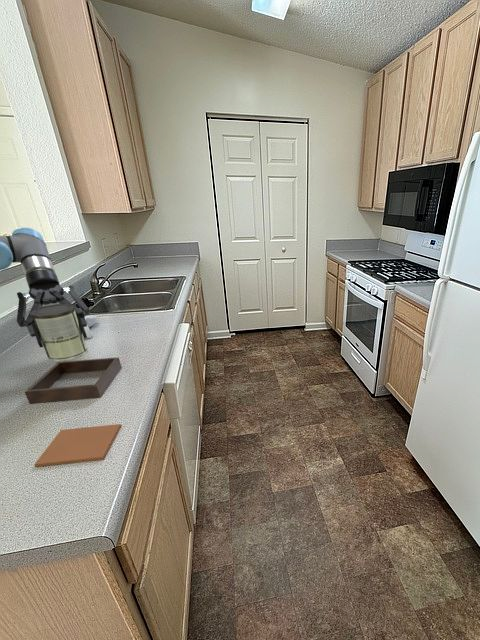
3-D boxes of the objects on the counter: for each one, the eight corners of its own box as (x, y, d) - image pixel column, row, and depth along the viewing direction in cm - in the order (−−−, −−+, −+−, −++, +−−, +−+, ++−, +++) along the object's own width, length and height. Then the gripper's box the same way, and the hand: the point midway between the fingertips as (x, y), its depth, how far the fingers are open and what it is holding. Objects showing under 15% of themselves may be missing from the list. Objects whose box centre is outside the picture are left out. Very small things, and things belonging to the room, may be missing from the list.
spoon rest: (68, 325, 152) (63, 310, 149) (97, 320, 158) (93, 306, 154) (71, 342, 134) (65, 325, 131) (103, 335, 140) (98, 319, 137)
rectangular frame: (29, 403, 94) (24, 391, 93) (62, 372, 111) (58, 361, 109) (100, 397, 97) (96, 385, 95) (121, 367, 114) (118, 357, 112)
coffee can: (40, 357, 97) (21, 311, 91) (74, 345, 105) (60, 302, 99) (61, 364, 93) (43, 316, 87) (95, 350, 101) (82, 306, 95)
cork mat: (35, 467, 72) (34, 464, 72) (62, 432, 83) (61, 429, 82) (103, 459, 74) (102, 456, 74) (121, 426, 84) (120, 423, 84)
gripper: (85, 278, 108) (108, 337, 104) (-4, 289, 96) (17, 356, 92) (83, 263, 102) (106, 325, 98) (-13, 273, 90) (9, 344, 85)
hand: (63, 340), depth 95 cm, fingers closed on coffee can, 10 cm apart
